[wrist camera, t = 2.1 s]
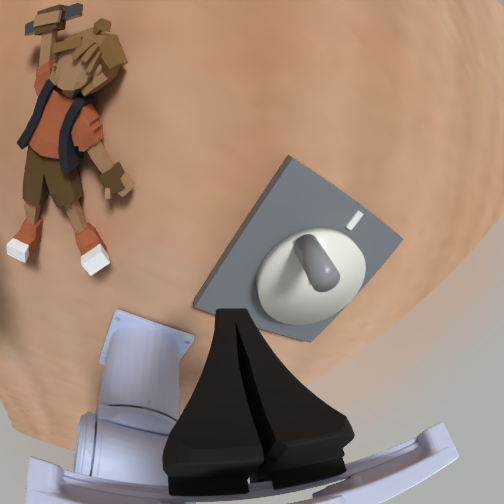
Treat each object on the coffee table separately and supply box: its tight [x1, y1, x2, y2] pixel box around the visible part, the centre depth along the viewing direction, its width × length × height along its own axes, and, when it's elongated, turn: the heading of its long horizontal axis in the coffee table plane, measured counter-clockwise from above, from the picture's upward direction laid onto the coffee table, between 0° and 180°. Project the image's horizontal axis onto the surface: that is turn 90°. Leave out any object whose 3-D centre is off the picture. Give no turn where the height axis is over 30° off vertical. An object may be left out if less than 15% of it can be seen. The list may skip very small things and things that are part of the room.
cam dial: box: [256, 227, 366, 325], centre depth 21 cm, size 9×9×5 cm
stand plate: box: [194, 155, 403, 343], centre depth 23 cm, size 14×13×1 cm
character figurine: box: [7, 3, 135, 276], centre depth 13 cm, size 10×18×4 cm, turn 162°
